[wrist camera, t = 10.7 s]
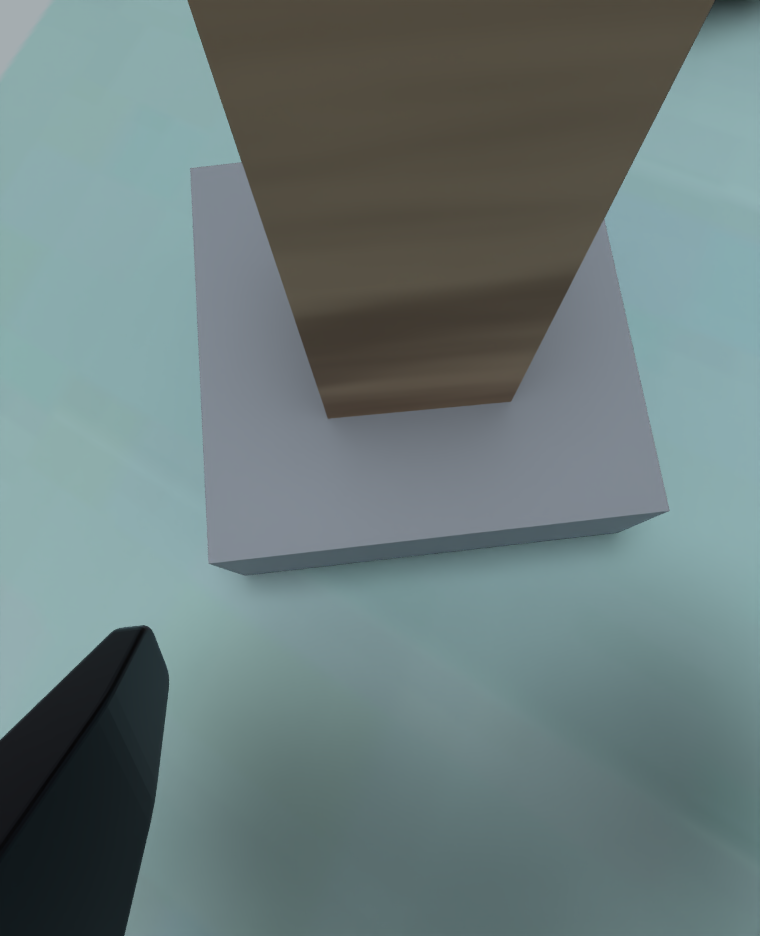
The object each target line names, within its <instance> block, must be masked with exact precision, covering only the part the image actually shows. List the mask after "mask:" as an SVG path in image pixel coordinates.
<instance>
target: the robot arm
mask: <svg viewBox="0 0 760 936" xmlns="http://www.w3.org/2000/svg"><path fill="white" fill-rule="evenodd" d="M168 691H169V675H168V670H167V667H166V664H165V661H164V659H163V656H162V654H161V651H160V648H159V646H158V643H157V641H156V638H155V636H154V633H153V631H152V630H151V629H150V628H149V627H148V626H145V625H141V626H132V627H124V628H119V629H116V630H114V631H113V632H111V633H110V634H109V635H108V636H107V637H106V638H105V639H104V640H103V641H102V642H101V643H100V644H99V645H98V646H97V647H96V648H95V649H94V650H93V651H92V652H91V653H90V654H89V655H87V656H86V657H85V658H84V659H83V660H82V661H81V662H80V663H79V664H78V665H77V666H76V667H75V668H74V669H73V670H72V671H71V672H70V673H69V674H68V675H67V676H66V677H65V678H64V679H63V680H62V681H61V682H60V683H59V684H58V685H56V686H55V687H54V688H53V689H52V690H51V691H50V692H49V693H48V694H47V695H46V696H45V697H44V698H43V699H42V700H41V701H40V702H39V703H38V704H37V705H36V706H35V707H34V708H33V709H32V710H31V711H30V712H29V713H28V714H27V715H26V716H24V717H23V718H22V719H21V720H20V721H19V722H18V723H17V724H16V725H15V726H14V727H13V728H12V729H11V730H10V731H9V732H8V733H7V734H6V735H5V736H4V737H3V738H2V739H1V740H0V936H124V935H125V930H126V926H127V922H128V917H129V913H130V909H131V905H132V900H133V896H134V892H135V887H136V883H137V879H138V875H139V870H140V866H141V862H142V857H143V853H144V849H145V844H146V840H147V836H148V832H149V827H150V823H151V818H152V813H153V808H154V803H155V796H156V789H157V782H158V774H159V765H160V757H161V749H162V741H163V732H164V724H165V716H166V707H167V699H168Z"/></svg>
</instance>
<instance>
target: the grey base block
mask: <svg viewBox="0 0 760 936" xmlns="http://www.w3.org/2000/svg"><path fill="white" fill-rule="evenodd" d="M190 172H191V194H192V216H193V237H194V259H195V280H196V302H197V323H198V345H199V366H200V388H201V410H202V431H203V453H204V474H205V496H206V517H207V539H208V560H209V564H211V565H214V566H217V567H220V568H224V569H227V570H230V571H233V572H236V573H239V574H242V575H252V574H261V573H270V572H279V571H287V570H296V569H305V568H313V567H322V566H331V565H340V564H348V563H357V562H366V561H374V560H383V559H392V558H401V557H409V556H418V555H427V554H435V553H444V552H453V551H462V550H470V549H479V548H488V547H496V546H505V545H514V544H523V543H531V542H540V541H549V540H558V539H566V538H575V537H584V536H592V535H601V534H610V533H618V532H620V531H623V530H625V529H628V528H630V527H632V526H635V525H637V524H639V523H642V522H644V521H646V520H649V519H651V518H654V517H656V516H658V515H661V514H663V513H665V512H668V511H669V506H668V502H667V497H666V493H665V488H664V484H663V479H662V475H661V470H660V466H659V461H658V457H657V452H656V448H655V444H654V439H653V435H652V430H651V426H650V421H649V417H648V412H647V408H646V403H645V399H644V394H643V390H642V385H641V381H640V376H639V372H638V368H637V363H636V359H635V354H634V350H633V345H632V341H631V336H630V332H629V327H628V323H627V318H626V314H625V309H624V305H623V301H622V296H621V292H620V287H619V283H618V278H617V274H616V269H615V265H614V260H613V256H612V251H611V247H610V242H609V238H608V234H607V229H606V225H605V220H603V222H602V224H601V226H600V228H599V230H598V232H597V234H596V236H595V238H594V240H593V242H592V244H591V246H590V248H589V249H588V251H587V253H586V255H585V257H584V259H583V261H582V263H581V265H580V267H579V269H578V271H577V273H576V275H575V277H574V279H573V281H572V283H571V285H570V287H569V289H568V291H567V293H566V295H565V297H564V299H563V301H562V303H561V305H560V307H559V309H558V310H557V312H556V314H555V316H554V318H553V320H552V322H551V324H550V326H549V328H548V330H547V332H546V334H545V336H544V338H543V340H542V342H541V344H540V346H539V348H538V350H537V352H536V354H535V356H534V358H533V360H532V362H531V364H530V366H529V368H528V370H527V372H526V373H525V375H524V377H523V379H522V381H521V383H520V385H519V387H518V389H517V391H516V393H515V395H514V397H513V399H512V401H511V402H503V403H492V404H481V405H470V406H460V407H449V408H438V409H427V410H417V411H406V412H395V413H384V414H373V415H363V416H352V417H341V418H330V419H328V418H327V415H326V412H325V409H324V406H323V403H322V400H321V397H320V394H319V391H318V388H317V385H316V382H315V379H314V376H313V373H312V370H311V367H310V364H309V361H308V358H307V355H306V352H305V349H304V346H303V343H302V340H301V337H300V334H299V331H298V328H297V325H296V322H295V319H294V316H293V313H292V310H291V307H290V304H289V301H288V298H287V295H286V292H285V289H284V286H283V283H282V280H281V277H280V274H279V272H278V269H277V266H276V263H275V260H274V257H273V254H272V251H271V248H270V245H269V242H268V239H267V236H266V233H265V230H264V227H263V224H262V221H261V218H260V215H259V212H258V209H257V206H256V203H255V200H254V197H253V194H252V191H251V188H250V185H249V182H248V179H247V176H246V173H245V170H244V167H243V164H242V162H241V163H232V164H223V165H214V166H206V167H197V168H190Z"/></svg>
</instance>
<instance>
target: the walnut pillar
mask: <svg viewBox="0 0 760 936" xmlns="http://www.w3.org/2000/svg"><path fill="white" fill-rule="evenodd" d="M714 2H715V0H188V3H189V6H190V9H191V12H192V15H193V18H194V21H195V24H196V27H197V30H198V33H199V36H200V39H201V42H202V45H203V48H204V51H205V54H206V57H207V60H208V63H209V66H210V69H211V72H212V75H213V78H214V81H215V84H216V87H217V90H218V93H219V96H220V99H221V102H222V105H223V108H224V111H225V114H226V117H227V119H228V122H229V125H230V128H231V131H232V134H233V137H234V140H235V143H236V146H237V149H238V152H239V155H240V158H241V161H242V164H243V167H244V170H245V173H246V176H247V179H248V182H249V185H250V188H251V191H252V194H253V197H254V200H255V203H256V206H257V209H258V212H259V215H260V218H261V221H262V224H263V227H264V230H265V233H266V236H267V239H268V242H269V245H270V248H271V251H272V254H273V257H274V260H275V263H276V266H277V269H278V272H279V274H280V277H281V280H282V283H283V286H284V289H285V292H286V295H287V298H288V301H289V304H290V307H291V310H292V313H293V316H294V319H295V322H296V325H297V328H298V331H299V334H300V337H301V340H302V343H303V346H304V349H305V352H306V355H307V358H308V361H309V364H310V367H311V370H312V373H313V376H314V379H315V382H316V385H317V388H318V391H319V394H320V397H321V400H322V403H323V406H324V409H325V412H326V415H327V418H328V419H330V418H341V417H352V416H363V415H373V414H384V413H395V412H406V411H417V410H427V409H438V408H449V407H460V406H470V405H481V404H492V403H503V402H511V401H512V399H513V397H514V395H515V393H516V391H517V389H518V387H519V385H520V383H521V381H522V379H523V377H524V375H525V373H526V372H527V370H528V368H529V366H530V364H531V362H532V360H533V358H534V356H535V354H536V352H537V350H538V348H539V346H540V344H541V342H542V340H543V338H544V336H545V334H546V332H547V330H548V328H549V326H550V324H551V322H552V320H553V318H554V316H555V314H556V312H557V310H558V309H559V307H560V305H561V303H562V301H563V299H564V297H565V295H566V293H567V291H568V289H569V287H570V285H571V283H572V281H573V279H574V277H575V275H576V273H577V271H578V269H579V267H580V265H581V263H582V261H583V259H584V257H585V255H586V253H587V251H588V249H589V248H590V246H591V244H592V242H593V240H594V238H595V236H596V234H597V232H598V230H599V228H600V226H601V224H602V222H603V220H604V218H605V216H606V214H607V212H608V210H609V208H610V206H611V204H612V202H613V200H614V198H615V196H616V194H617V192H618V190H619V188H620V187H621V185H622V183H623V181H624V179H625V177H626V175H627V173H628V171H629V169H630V167H631V165H632V163H633V161H634V159H635V157H636V155H637V153H638V151H639V149H640V147H641V145H642V143H643V141H644V139H645V137H646V135H647V133H648V131H649V129H650V127H651V126H652V124H653V122H654V120H655V118H656V116H657V114H658V112H659V110H660V108H661V106H662V104H663V102H664V100H665V98H666V96H667V94H668V92H669V90H670V88H671V86H672V84H673V82H674V80H675V78H676V76H677V74H678V72H679V70H680V68H681V66H682V65H683V63H684V61H685V59H686V57H687V55H688V53H689V51H690V49H691V47H692V45H693V43H694V41H695V39H696V37H697V35H698V33H699V31H700V29H701V27H702V25H703V23H704V21H705V19H706V17H707V15H708V13H709V11H710V9H711V7H712V5H713V4H714Z"/></svg>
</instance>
